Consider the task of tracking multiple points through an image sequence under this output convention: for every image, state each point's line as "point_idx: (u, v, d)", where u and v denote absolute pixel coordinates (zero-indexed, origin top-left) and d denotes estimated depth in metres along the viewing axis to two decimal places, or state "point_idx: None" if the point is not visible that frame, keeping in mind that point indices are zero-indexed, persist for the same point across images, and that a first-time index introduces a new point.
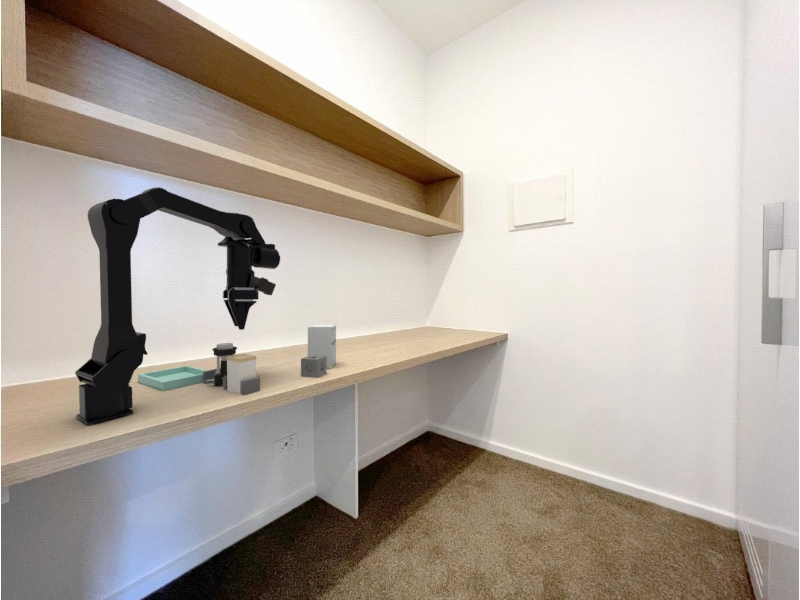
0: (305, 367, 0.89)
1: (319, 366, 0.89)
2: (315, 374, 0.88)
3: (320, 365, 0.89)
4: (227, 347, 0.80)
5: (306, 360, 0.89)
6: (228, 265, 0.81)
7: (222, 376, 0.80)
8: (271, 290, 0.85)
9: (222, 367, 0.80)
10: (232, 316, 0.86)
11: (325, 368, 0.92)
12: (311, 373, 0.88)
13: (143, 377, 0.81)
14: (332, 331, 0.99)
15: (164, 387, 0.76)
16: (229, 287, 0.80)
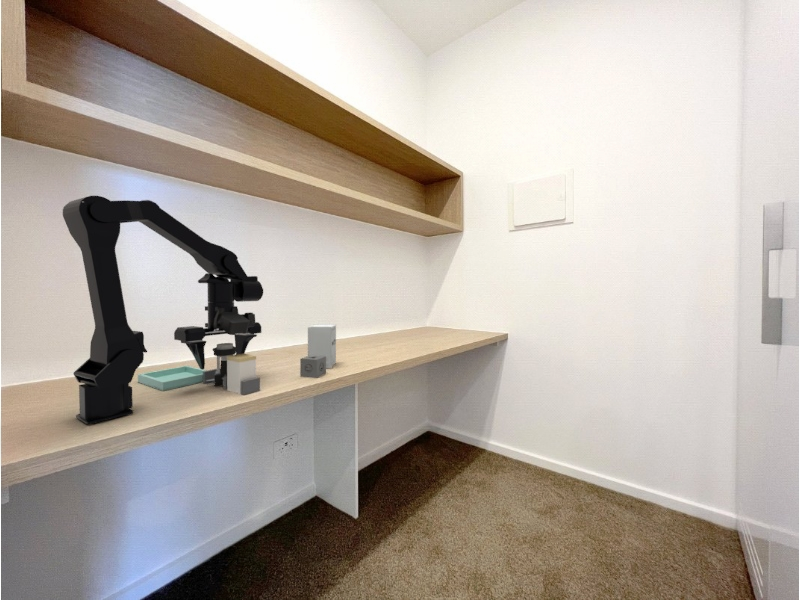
0: (304, 367, 0.89)
1: (318, 366, 0.89)
2: (315, 374, 0.88)
3: (319, 365, 0.89)
4: (227, 347, 0.80)
5: (305, 360, 0.89)
6: None
7: (222, 376, 0.80)
8: (229, 329, 0.75)
9: (222, 367, 0.80)
10: (236, 351, 0.85)
11: (324, 368, 0.92)
12: (310, 373, 0.88)
13: (143, 377, 0.81)
14: (332, 331, 0.99)
15: (164, 387, 0.76)
16: (205, 324, 0.80)
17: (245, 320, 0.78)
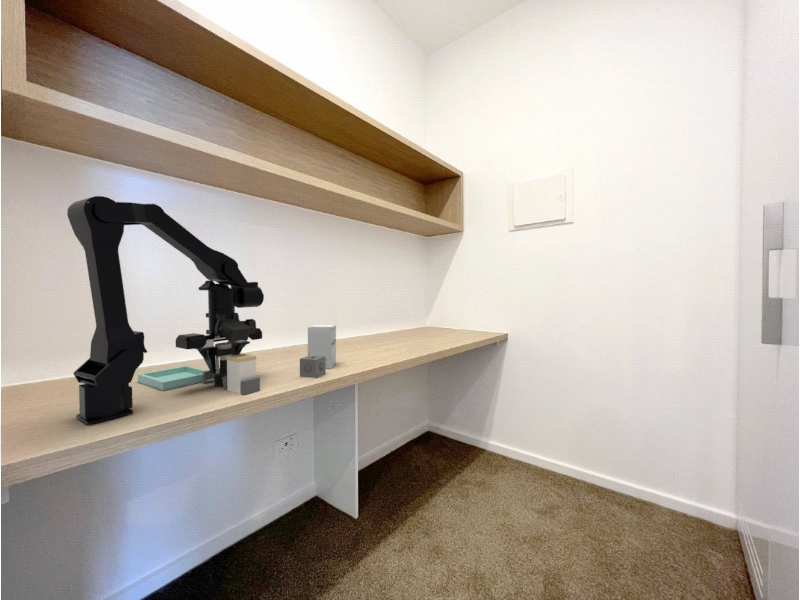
0: (304, 367, 0.89)
1: (318, 366, 0.89)
2: (314, 375, 0.88)
3: (319, 365, 0.89)
4: (225, 347, 0.80)
5: (305, 360, 0.88)
6: None
7: (222, 376, 0.80)
8: (230, 336, 0.75)
9: (221, 367, 0.80)
10: None
11: (324, 368, 0.92)
12: (310, 373, 0.88)
13: (143, 377, 0.81)
14: (332, 331, 0.99)
15: (164, 387, 0.76)
16: (206, 331, 0.80)
17: (246, 327, 0.78)
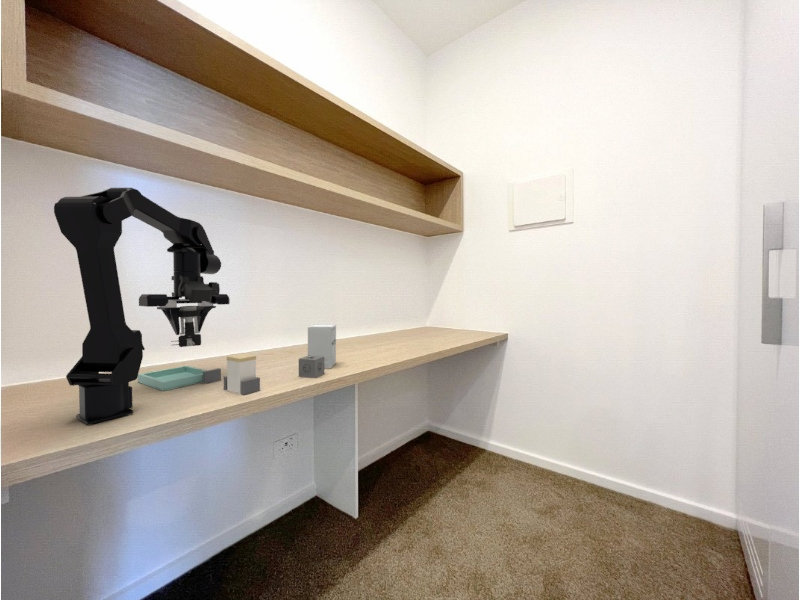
0: (303, 367, 0.88)
1: (317, 366, 0.88)
2: (313, 375, 0.88)
3: (318, 366, 0.89)
4: (189, 309, 0.82)
5: (304, 360, 0.88)
6: None
7: (186, 337, 0.82)
8: (191, 296, 0.77)
9: (185, 328, 0.82)
10: None
11: (323, 368, 0.92)
12: (309, 373, 0.88)
13: (143, 377, 0.81)
14: (332, 331, 0.99)
15: (164, 387, 0.76)
16: (172, 293, 0.82)
17: (208, 288, 0.80)
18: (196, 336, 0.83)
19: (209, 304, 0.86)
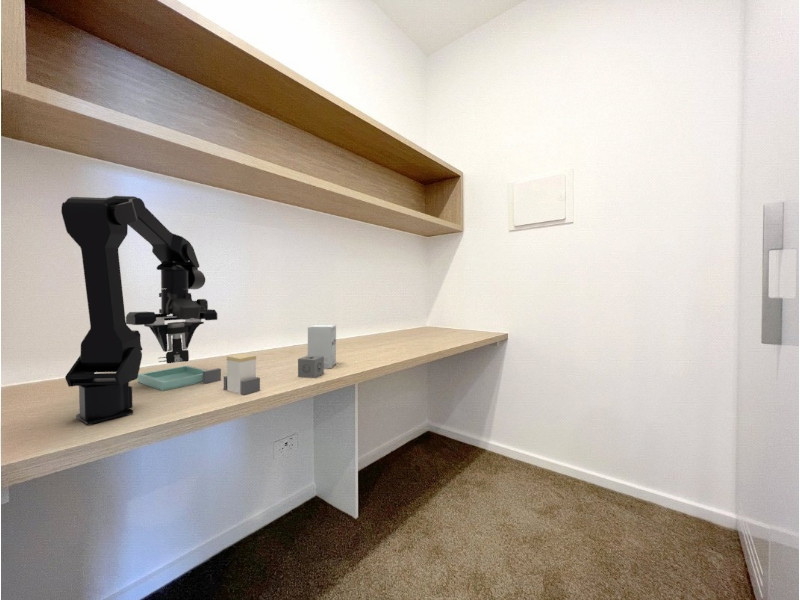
0: (302, 367, 0.88)
1: (316, 366, 0.88)
2: (312, 375, 0.88)
3: (317, 366, 0.89)
4: (177, 325, 0.82)
5: (303, 360, 0.88)
6: None
7: (174, 353, 0.83)
8: (179, 314, 0.78)
9: (173, 345, 0.83)
10: None
11: (322, 368, 0.92)
12: (308, 373, 0.88)
13: (143, 377, 0.81)
14: (332, 331, 0.99)
15: (164, 387, 0.76)
16: (159, 310, 0.83)
17: (196, 306, 0.81)
18: (184, 352, 0.84)
19: (197, 320, 0.87)
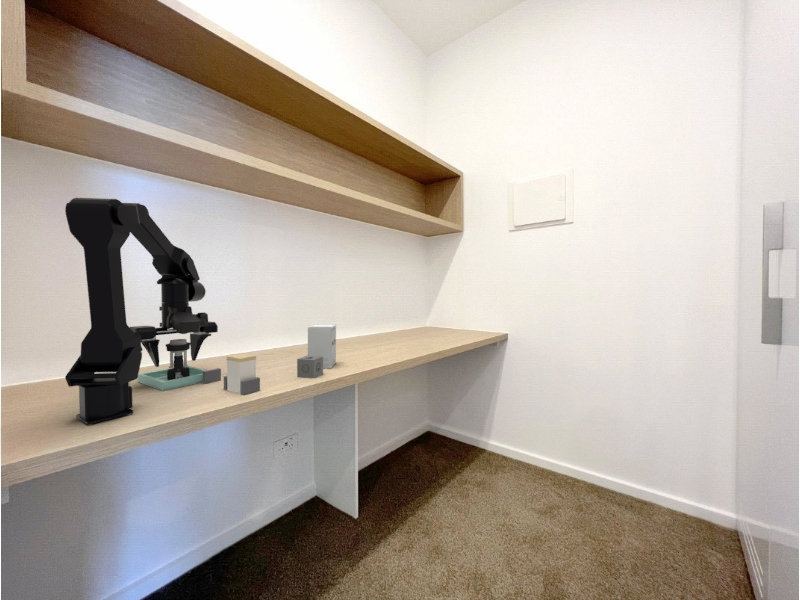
0: (301, 367, 0.88)
1: (315, 366, 0.88)
2: (312, 375, 0.87)
3: (316, 366, 0.89)
4: (180, 343, 0.83)
5: (302, 360, 0.88)
6: None
7: (175, 371, 0.83)
8: (179, 328, 0.78)
9: (174, 362, 0.83)
10: (191, 350, 0.88)
11: (321, 368, 0.92)
12: (307, 374, 0.88)
13: (143, 377, 0.81)
14: (332, 331, 0.99)
15: (164, 387, 0.76)
16: (160, 324, 0.83)
17: (197, 320, 0.81)
18: (185, 370, 0.84)
19: (205, 332, 0.89)
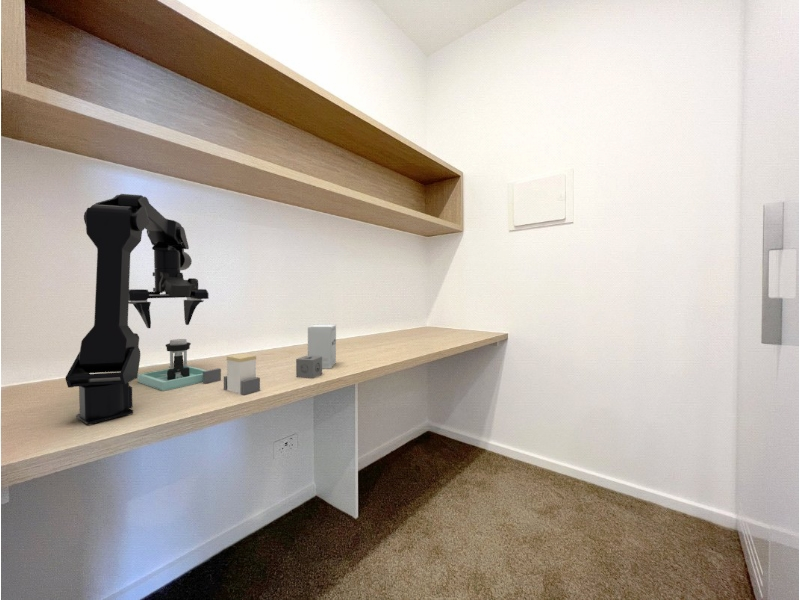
0: (300, 368, 0.88)
1: (314, 367, 0.88)
2: (311, 375, 0.87)
3: (315, 366, 0.89)
4: (180, 343, 0.83)
5: (301, 360, 0.88)
6: None
7: (175, 371, 0.83)
8: (171, 291, 0.83)
9: (174, 362, 0.83)
10: (184, 315, 0.94)
11: (321, 369, 0.91)
12: (306, 374, 0.88)
13: (143, 377, 0.81)
14: (332, 331, 0.99)
15: (164, 387, 0.76)
16: (153, 289, 0.88)
17: (187, 284, 0.86)
18: (185, 370, 0.84)
19: (197, 298, 0.94)
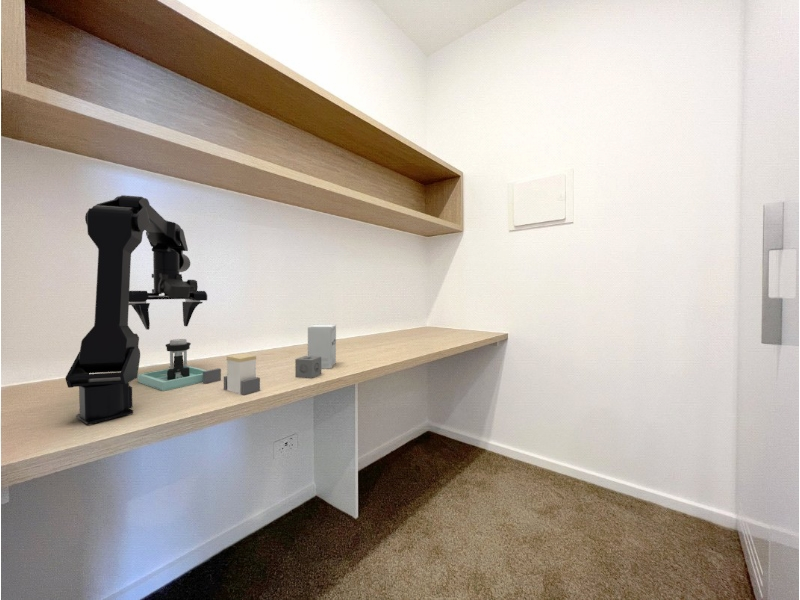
0: (299, 368, 0.88)
1: (314, 367, 0.88)
2: (310, 375, 0.87)
3: (315, 366, 0.89)
4: (180, 343, 0.83)
5: (300, 361, 0.88)
6: None
7: (175, 371, 0.83)
8: (170, 292, 0.83)
9: (174, 362, 0.83)
10: (183, 316, 0.94)
11: (320, 369, 0.91)
12: (305, 374, 0.88)
13: (143, 377, 0.81)
14: (332, 331, 0.99)
15: (164, 387, 0.76)
16: (152, 290, 0.88)
17: (186, 285, 0.86)
18: (185, 370, 0.84)
19: None
